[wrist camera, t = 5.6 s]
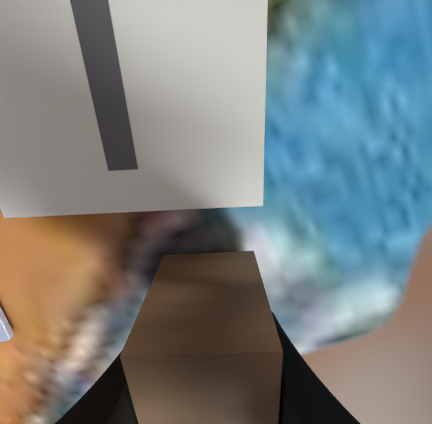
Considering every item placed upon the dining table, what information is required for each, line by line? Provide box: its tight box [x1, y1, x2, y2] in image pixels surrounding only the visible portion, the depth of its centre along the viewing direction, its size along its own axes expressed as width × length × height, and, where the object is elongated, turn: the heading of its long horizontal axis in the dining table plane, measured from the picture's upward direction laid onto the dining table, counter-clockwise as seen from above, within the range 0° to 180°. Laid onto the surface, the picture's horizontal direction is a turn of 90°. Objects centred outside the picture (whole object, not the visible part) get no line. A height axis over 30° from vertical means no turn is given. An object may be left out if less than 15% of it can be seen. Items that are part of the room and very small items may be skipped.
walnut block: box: [120, 251, 283, 424], centre depth 11 cm, size 5×5×6 cm
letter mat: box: [0, 0, 268, 218], centre depth 10 cm, size 14×14×1 cm
